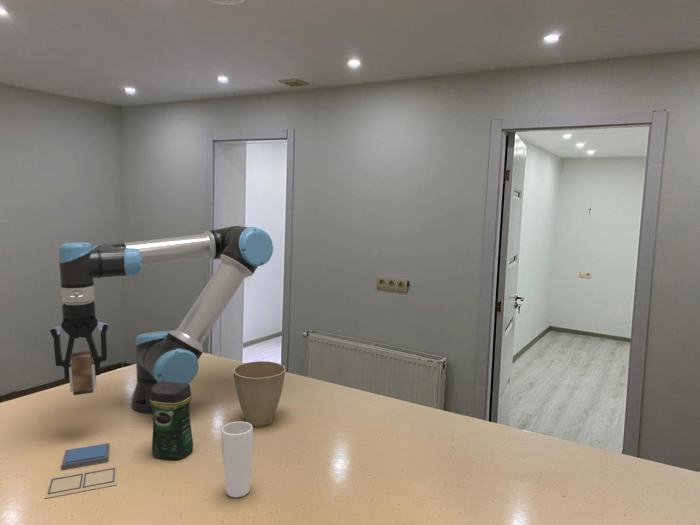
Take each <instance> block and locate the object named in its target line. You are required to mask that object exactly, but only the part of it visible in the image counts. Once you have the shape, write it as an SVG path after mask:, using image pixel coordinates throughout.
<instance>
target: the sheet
mask: <svg viewBox="0 0 700 525" xmlns="http://www.w3.org/2000/svg"><path fill="white" fill-rule="evenodd" d="M117 474H118V466H117V465H113V466H107V467H102V468H95V469H89V470H84V471H79V472H78V471H77V472H72V473H67V474H62V475H60V474H59V475H55V476H51V477H49V481H48V484H47V489H46V491H45V492H46V493H45V497H44V500H47V499H50V498H51V499H52V498H57V497H63V496H67V495H72V494H73V495H74V494H77V493H83V492H84V493H85V492H88V491H89V492H90V491H93V490H94V491H95V490H99V489H104V488H109V487H110V488H111V487H115V486H117V476H118V475H117Z"/></svg>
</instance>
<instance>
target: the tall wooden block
mask: <svg viewBox="0 0 700 525" xmlns="http://www.w3.org/2000/svg"><path fill="white" fill-rule="evenodd" d="M92 362H93V357H92V354H91V351H90V350H89V351H80V352H72V355H71V360H70V365H72V381H73V392H72V394H73V396H77V395H85V394H92V393H94V389H93V383H92V366H91V365H92Z"/></svg>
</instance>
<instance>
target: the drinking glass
mask: <svg viewBox="0 0 700 525" xmlns="http://www.w3.org/2000/svg"><path fill="white" fill-rule="evenodd" d="M253 428H254V426H252V425H251V424H250V423H247V422H246V421H232V422H229V423H226V424H225V425H223V426H222V428H221V453H222V454H221V455H222V463H223V473H224V481H225V493H226V494H227V496H229V497H230V498H242V497H244V496H247V495H248V494H249V492H250V490H251V476H252V474H251V472H252V466H253V465H252V462H253V450H254V432H253V431H254V430H253Z"/></svg>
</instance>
